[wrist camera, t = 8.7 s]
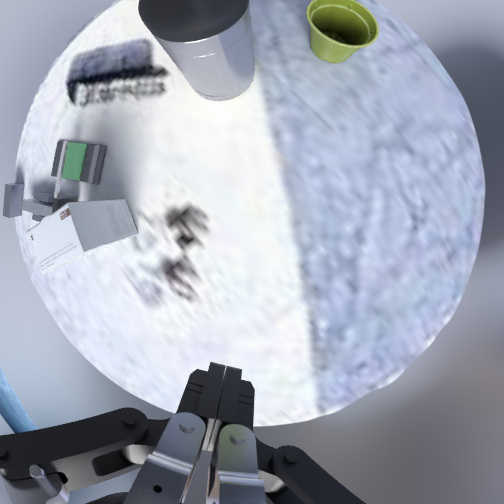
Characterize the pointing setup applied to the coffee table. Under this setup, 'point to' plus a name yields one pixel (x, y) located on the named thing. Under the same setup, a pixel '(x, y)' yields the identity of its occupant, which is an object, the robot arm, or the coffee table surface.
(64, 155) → the grey l-shaped bracket
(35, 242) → the skincare box
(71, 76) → the coffee table surface
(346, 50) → the plant pot
